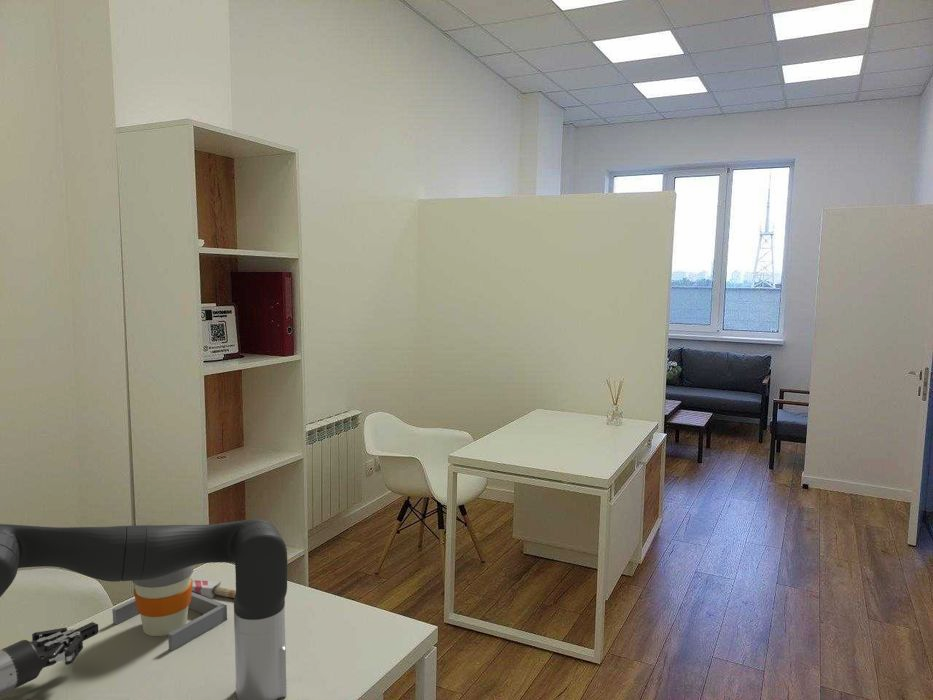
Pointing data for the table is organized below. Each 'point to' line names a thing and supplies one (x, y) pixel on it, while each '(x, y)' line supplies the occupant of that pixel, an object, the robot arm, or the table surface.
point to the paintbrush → (211, 589)
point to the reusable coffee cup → (164, 601)
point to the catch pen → (189, 631)
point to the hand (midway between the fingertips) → (95, 627)
